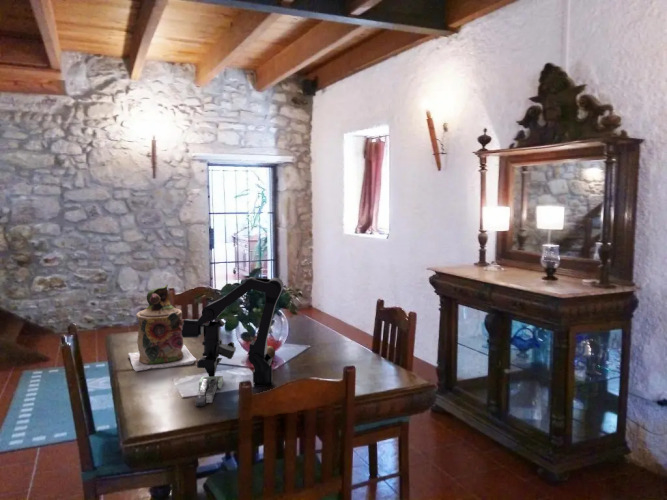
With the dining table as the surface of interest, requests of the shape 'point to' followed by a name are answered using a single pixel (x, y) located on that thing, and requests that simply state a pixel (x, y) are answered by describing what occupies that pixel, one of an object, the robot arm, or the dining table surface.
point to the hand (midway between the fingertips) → (212, 379)
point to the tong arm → (202, 393)
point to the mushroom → (271, 351)
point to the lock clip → (220, 379)
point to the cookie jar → (160, 334)
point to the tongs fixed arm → (211, 390)
